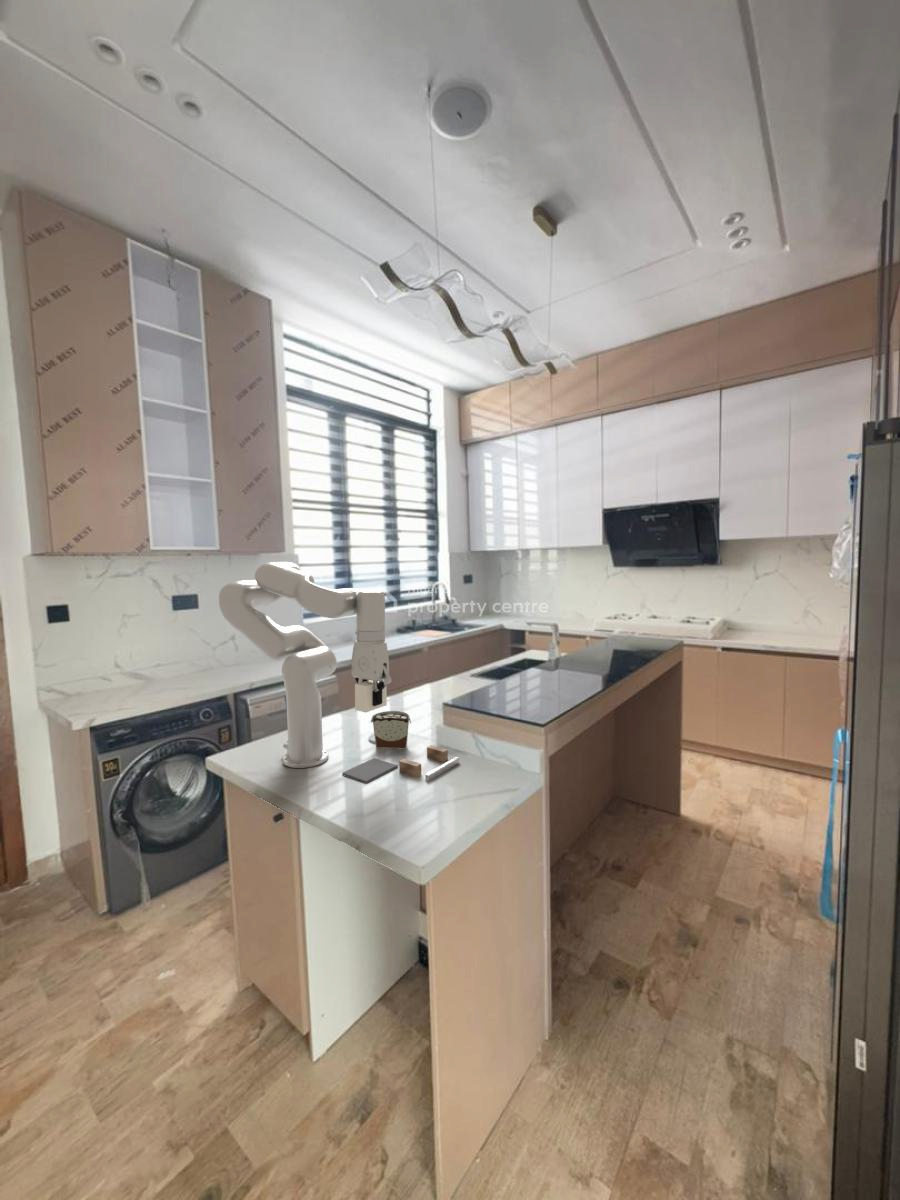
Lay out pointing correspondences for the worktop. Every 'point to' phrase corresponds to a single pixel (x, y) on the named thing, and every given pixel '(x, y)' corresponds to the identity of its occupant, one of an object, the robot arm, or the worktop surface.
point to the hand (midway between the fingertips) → (371, 702)
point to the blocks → (432, 753)
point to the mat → (370, 770)
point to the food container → (391, 729)
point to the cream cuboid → (367, 696)
